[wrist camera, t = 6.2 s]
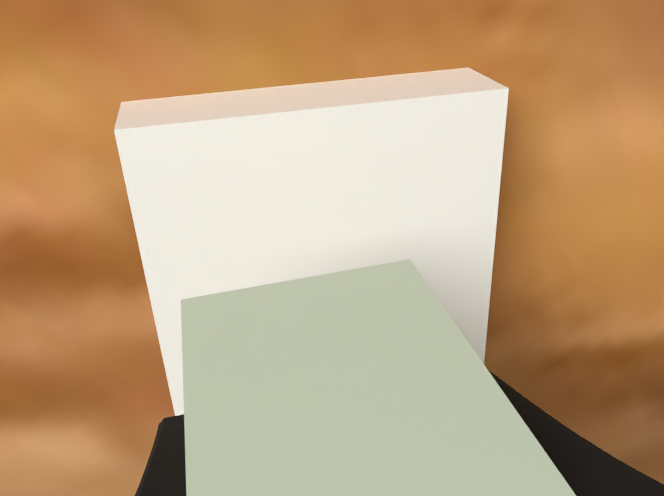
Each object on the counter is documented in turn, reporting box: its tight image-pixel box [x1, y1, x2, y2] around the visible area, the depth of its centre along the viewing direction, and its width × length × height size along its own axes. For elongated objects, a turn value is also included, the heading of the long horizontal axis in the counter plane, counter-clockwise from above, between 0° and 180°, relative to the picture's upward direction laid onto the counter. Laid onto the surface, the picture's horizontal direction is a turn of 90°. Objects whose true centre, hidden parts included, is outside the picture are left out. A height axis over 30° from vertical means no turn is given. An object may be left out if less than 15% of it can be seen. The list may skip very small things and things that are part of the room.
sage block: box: [181, 259, 576, 496], centre depth 11 cm, size 4×4×6 cm
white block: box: [114, 68, 509, 416], centre depth 19 cm, size 10×10×3 cm
